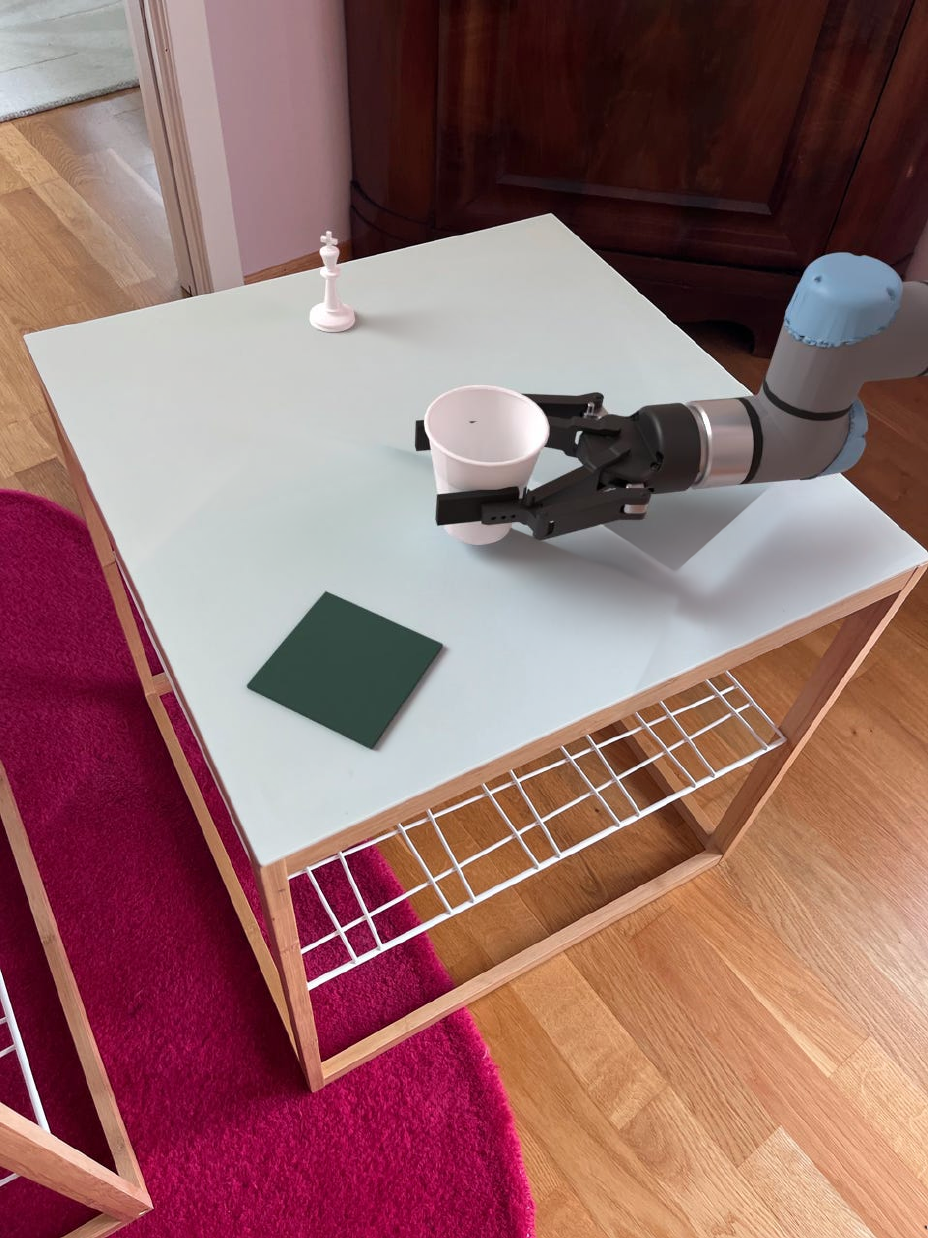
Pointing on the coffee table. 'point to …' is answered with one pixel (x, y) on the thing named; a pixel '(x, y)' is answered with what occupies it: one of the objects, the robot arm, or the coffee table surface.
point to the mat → (346, 668)
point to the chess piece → (331, 293)
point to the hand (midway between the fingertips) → (426, 471)
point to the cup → (484, 447)
